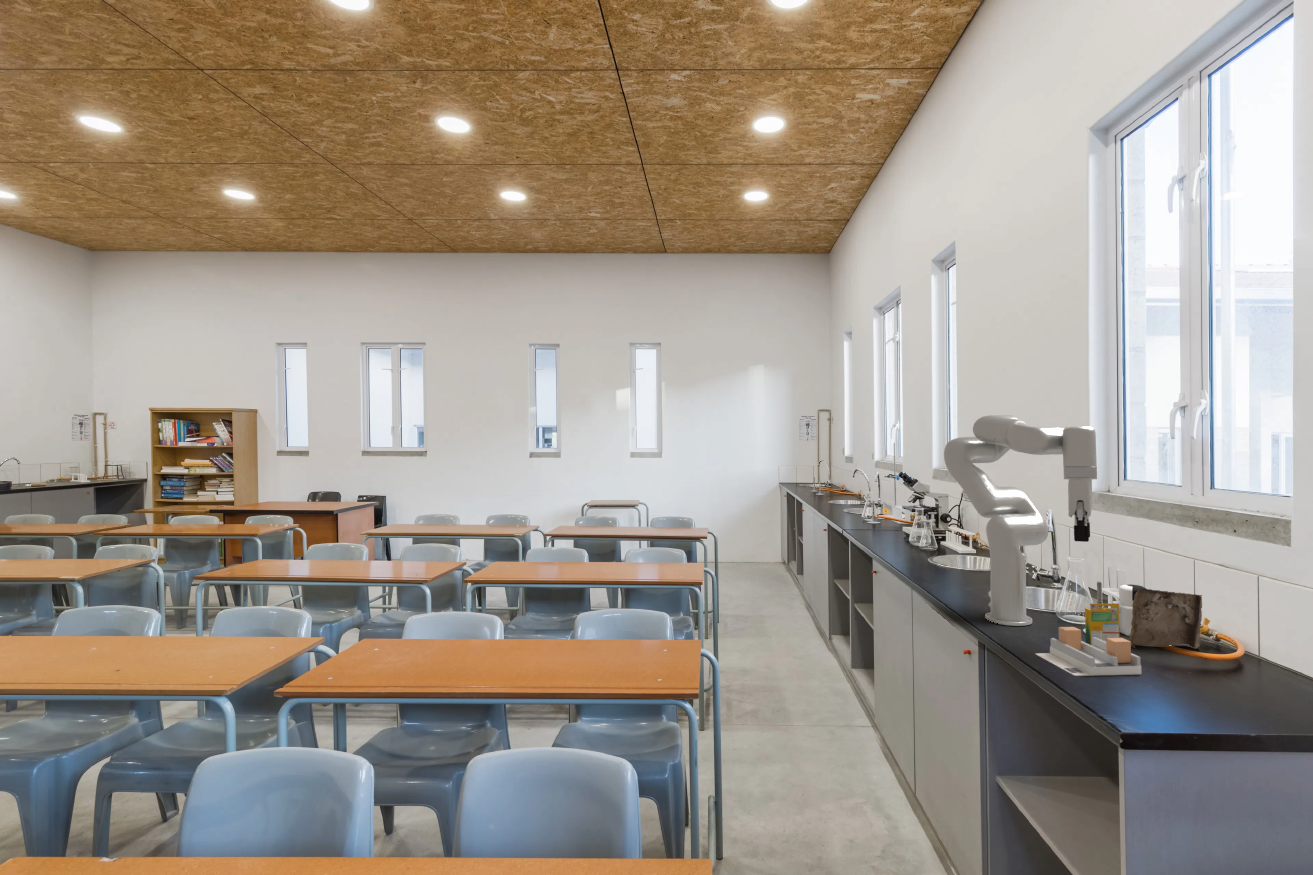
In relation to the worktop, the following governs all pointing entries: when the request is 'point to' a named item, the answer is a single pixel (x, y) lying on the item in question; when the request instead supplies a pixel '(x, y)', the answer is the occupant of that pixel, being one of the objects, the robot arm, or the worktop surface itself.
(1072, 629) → the tan rectangular block
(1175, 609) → the mineral sample
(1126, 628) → the container
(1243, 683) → the worktop surface
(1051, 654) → the white divided tray
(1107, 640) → the light orange block
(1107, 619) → the crayon box
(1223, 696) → the worktop surface
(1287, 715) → the worktop surface
